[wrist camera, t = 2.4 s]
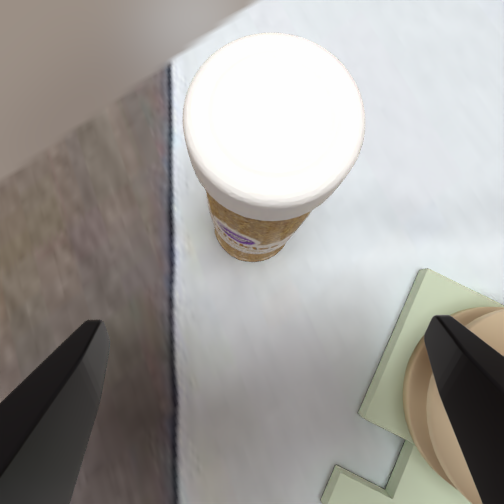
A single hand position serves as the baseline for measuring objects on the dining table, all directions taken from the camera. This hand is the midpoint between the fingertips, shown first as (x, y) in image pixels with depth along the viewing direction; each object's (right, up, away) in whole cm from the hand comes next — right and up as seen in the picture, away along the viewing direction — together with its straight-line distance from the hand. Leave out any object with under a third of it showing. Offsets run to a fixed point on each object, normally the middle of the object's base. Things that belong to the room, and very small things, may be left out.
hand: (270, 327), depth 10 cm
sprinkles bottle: (0, +4, +12) cm, 13 cm away
